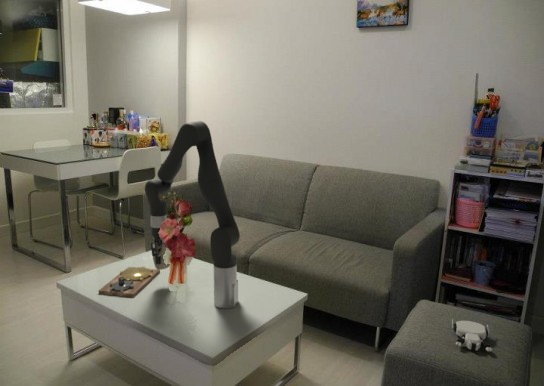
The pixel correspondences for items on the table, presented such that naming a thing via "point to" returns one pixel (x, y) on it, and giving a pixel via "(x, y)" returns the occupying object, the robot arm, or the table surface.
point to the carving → (162, 265)
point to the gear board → (129, 281)
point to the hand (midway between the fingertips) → (161, 260)
